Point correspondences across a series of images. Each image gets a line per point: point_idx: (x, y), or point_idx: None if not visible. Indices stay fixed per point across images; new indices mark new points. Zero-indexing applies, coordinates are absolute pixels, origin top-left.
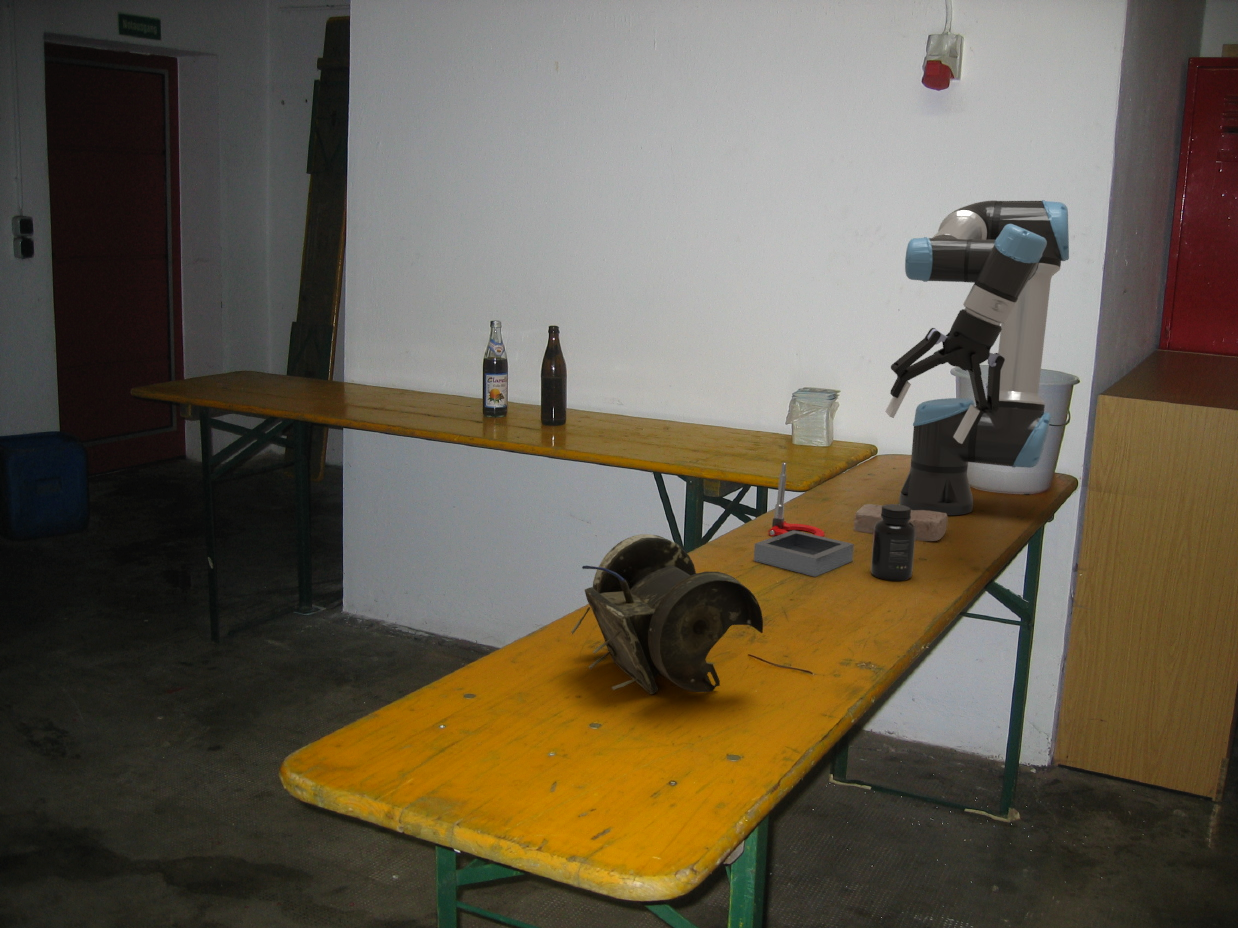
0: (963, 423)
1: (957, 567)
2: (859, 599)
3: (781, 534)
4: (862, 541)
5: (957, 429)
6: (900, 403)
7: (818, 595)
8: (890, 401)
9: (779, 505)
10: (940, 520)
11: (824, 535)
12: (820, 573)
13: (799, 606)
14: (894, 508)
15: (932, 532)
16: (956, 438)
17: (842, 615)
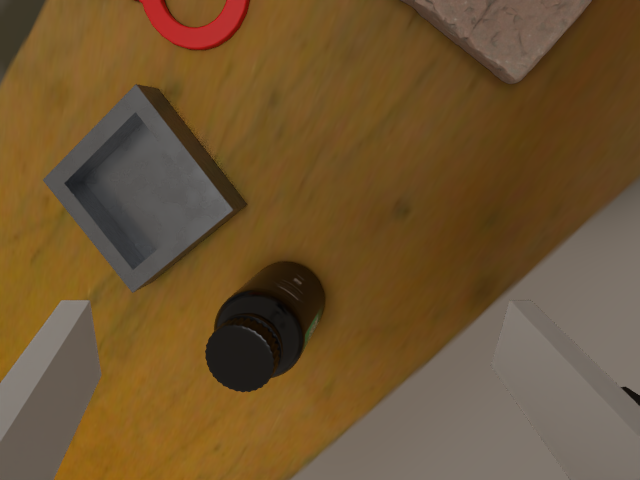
0: (557, 393)
1: (448, 274)
2: (190, 395)
3: (103, 118)
4: (324, 56)
5: (535, 330)
6: (61, 451)
7: (135, 365)
8: (29, 345)
9: None
10: (539, 57)
11: (245, 12)
12: (163, 272)
13: (98, 401)
14: (229, 368)
15: (501, 76)
16: (504, 338)
17: (146, 446)
